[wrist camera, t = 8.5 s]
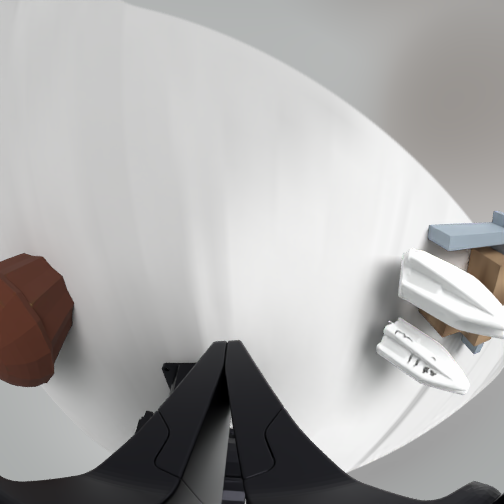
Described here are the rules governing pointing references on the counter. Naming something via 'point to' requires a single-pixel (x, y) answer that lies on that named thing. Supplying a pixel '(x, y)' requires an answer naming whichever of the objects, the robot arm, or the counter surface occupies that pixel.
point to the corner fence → (470, 242)
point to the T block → (490, 275)
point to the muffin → (31, 319)
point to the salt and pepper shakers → (445, 309)
